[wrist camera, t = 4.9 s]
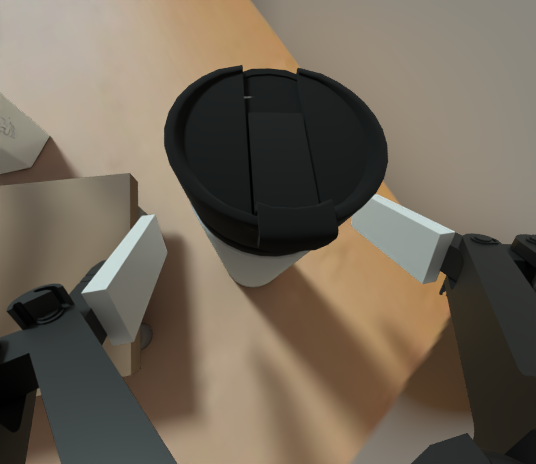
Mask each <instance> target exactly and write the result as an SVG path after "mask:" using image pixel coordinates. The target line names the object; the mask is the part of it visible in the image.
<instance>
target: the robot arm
mask: <svg viewBox="0 0 536 464" xmlns="http://www.w3.org/2000/svg"><path fill="white" fill-rule="evenodd" d="M351 226H352V227H353V228H354V229H355V230H357V231H358V232H359V233H360V234H361V235H363V236H364V237H365V238H366V239H368V240H369V241H370V242H371V243H373V244H374V245H375V246H376V247H377V248H379V249H380V250H381V251H382V252H384V253H385V254H386V255H387V256H389V257H390V258H391V259H392V260H393V261H395V262H396V263H397V264H398V265H400V266H401V267H402V268H403V269H405V270H406V271H407V272H408V273H409V274H411V275H412V276H413V277H414V278H416V279H417V280H418V281H419V282H421V283H422V284H425V283H430V282H435V281H436V280H437V277H438V275H439V272H440V271H441V272H443V273H444V274H446V278H445V280H444V283H443V285H442V287H441V290H440V293H439V294H440V295H442V294H443V292H445V291H446V296H447V298H448V303H449V308H450V313H451V317H452V322H453V327H454V332H455V336H456V341H457V346H458V351H459V355H460V360H461V365H462V369H463V374H464V379H465V384H466V388H467V393H468V398H469V403H470V408H471V412H472V417H473V422H474V438H473V440H472V438H471V437H470V436H469V435H468V433H466V434H463V435H460V436H457V437H454V438H451V439H448V440H445V441H442V442H438V443H435V444H433V445H430V446H429V447H428V448H427V449H426V450H425V451H424V452H423V453H422V454H421V455H420V456H419V457H418V458H417V459H416V460H414V462H412V463H411V464H536V235H526V234H525V235H524V234H523V235H517V236H516V238H515V239H514V241H513V243H512V244H509V245H508V244H501V243H500V242H499V241H498V240H496V239H494V238H491V237H488V236H485V235H480V234H465V235H463V236H462V235H460V234H458V233H456V232H455V231H453V230H450V229H448V228H446V227H444V226H442V225H440V224H438V223H436V222H434V221H432V220H430V219H428V218H425V217H423V216H421V215H419V214H417V213H415V212H413V211H411V210H409V209H407V208H405V207H403V206H400V205H398V204H396V203H394V202H392V201H390V200H388V199H386V198H384V197H382V196H380V195H378V194H375V195H374V196H373V197H372V198H371V199H370V200H369V201H368V202H367V203H366V204H365V205H364V206H363V207H362V208H361V209H360V210H359V211H357V212H356V213H355V214H353V215H352V220H351ZM167 253H168V252H167V249H166V246H165V243H164V240H163V237H162V234H161V231H160V228H159V224H158V221H157V218H156V215H155V214H154V215H146V216H141V218H140V219H139V220H138V221H137V223H136V224H135V225H134V226H133V228H132V229H131V230H130V232H129V233H128V234H127V235H126V237H125V238H124V239H123V240H122V242H121V243H120V244H119V246H118V247H117V248H116V249H115V251H114V252H113V253H112V254H111V256H110V257H109V258H108V260H103V261H101V262H99V263H98V264H96V265H95V266H93V267H92V268H91V269H90V270H89V271H88V273H87V274H86V275H85V277H83V278H82V280H81V281H80V283H78V284H77V285H76V287H75V288H74V289H73V290H72V291H71V293H70V294H68V293H67V291H66V289H65V288H64V286H63V285H61V284H48V285H43V286H40V287H38V288H35V289H32V290H30V291H28V292H26V293H24V294H22V295H21V296H19V297H18V298H16V299H15V300H14V301H13V302H12V303H11V304H10V305H9V306H8V308H7V311H6V312H7V313H8V314H9V315H10V316H11V317H12V318H13V320H14V321H15V322H16V323H17V324H18V325H19V327H20V328H21V329H22V330H19V331H17V332H14V333H11V334H8V335H5V336H3V337H0V464H25V461H26V455H27V449H28V443H29V437H30V431H31V424H32V418H33V412H34V406H35V400H36V393H37V389H38V388H40V392H41V395H42V399H43V402H44V406H45V409H46V413H47V416H48V420H49V423H50V426H51V430H52V433H53V437H54V440H55V444H56V447H57V451H58V454H59V458H60V461H61V464H177V462H176V461H175V459H174V458H173V456H172V454H171V453H170V451H169V450H168V448H167V447H166V445H165V444H164V442H163V440H162V439H161V437H160V436H159V434H158V433H157V431H156V429H155V428H154V426H153V425H152V423H151V422H150V420H149V419H148V417H147V415H146V414H145V412H144V411H143V409H142V408H141V406H140V405H139V403H138V401H137V400H136V398H135V397H134V395H133V394H132V392H131V390H130V389H129V387H128V386H127V384H126V383H125V381H124V380H123V378H122V376H121V375H120V373H119V372H118V370H117V369H116V367H115V365H114V364H113V362H112V361H111V359H110V358H109V356H108V355H107V353H106V351H105V350H104V348H103V347H102V345H103V343H104V341H105V339H106V337H108V339H109V340H110V342H111V344H112V345H113V346H115V345H120V344H125V343H130V342H134V340H135V337H136V335H137V332H138V329H139V327H140V324H141V322H142V319H143V316H144V314H145V311H146V308H147V306H148V303H149V300H150V298H151V295H152V293H153V290H154V287H155V285H156V282H157V279H158V277H159V274H160V271H161V269H162V266H163V264H164V261H165V258H166V256H167Z"/></svg>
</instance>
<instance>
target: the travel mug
mask: <svg viewBox="0 0 536 464" xmlns="http://www.w3.org/2000/svg"><path fill="white" fill-rule="evenodd" d="M164 146H165V150H166V153H167V157H168V160H169V164H170V165H171V167H172V169H173V171H174V173H175V175H176V176H177V178H178V180H179V182H180V184H181V186H182V188H183V189H184V191H185V193H186V195H187V197H188V198H189V200H190V202H191V205H192V209H193V211H194V213H195V215H196V216H197V218H198V220H199V222H200V224H201V225H202V227H203V229H204V231H205V232H206V234H207V236H208V238H209V240H210V241H211V243H212V245H213V247H214V248H215V250H216V252H217V254H218V256H219V257H220V259H221V261H222V263H223V264H224V266H225V268H226V270H227V271H228V273H229V275H230V276H231V277H232V279H233V280H234V281H236V282H237V283H239V284H241V285H243V286H246V287H260V286H263V285H266V284H267V283H269V282H270V281H272V280H273V279H274V278H276V277H277V276H278V275H280V274H281V273H282V272H283V271H285V270H286V269H287V268H289V267H290V266H291V265H293V264H294V263H295V262H296V261H298V260H299V259H300V258H302V257H303V256H304V255H305V254H307V253H308V252H309V251H311V250H317V249H319V248H321V247H324V246H326V245H328V244H329V243H331V242H332V241H334V240H335V239H336V238H337V236H338V227H339V226H340V225H341V224H342V223H343V222H345V221H346V220H347V219H348V218H350V217H351V216H352V215H353V214H355V213H356V212H357V211H359V210H360V209H361V208H362V207H363V206H364V205H365V204H366V203H367V202H368V201H369V200H370V199H371V198H372V197H373V196H374V195H375V194H376V192H377V190H378V188H379V187H380V185H381V183H382V181H383V179H384V176H385V172H386V168H387V163H388V153H387V142H386V139H385V136H384V132H383V129H382V128H381V125H380V124H379V122H378V120H377V118H376V116H375V115H374V114H373V112H372V111H371V110H370V109H369V107H368V106H367V105H366V104H365V103H364V102H363V101H362V100H361V99H360V98H359V97H358V96H357V95H356V94H354V93H353V92H352V91H351V90H349V89H348V88H346V87H344V86H343V85H342V84H340V83H338V82H337V81H335V80H333V79H331V78H329V77H327V76H324V75H323V74H320V73H316V72H313V71H309V70H305V69H301V68H298V69H297V73H296V74H294V73H292V72H289V71H287V70H278V69H250V70H247V71H244V72H243V67H242V65H240V66H235V67H229V68H223V69H218V70H216V71H214V72H211V73H209V74H207V75H205V76H203V77H201V78H200V79H198V80H197V81H195V82H194V83H192V84H191V85H189V86H188V87H187V88H186V89H185V90H184V91H183V92H182V93H181V94H180V95H179V96H178V97H177V99H176V101H175V102H174V104H173V106H172V107H171V109H170V111H169V113H168V117H167V120H166V124H165V127H164Z"/></svg>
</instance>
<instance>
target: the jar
mask: <svg viewBox="0 0 536 464" xmlns="http://www.w3.org/2000/svg"><path fill="white" fill-rule="evenodd" d="M49 137H50V136H49V134H48V133H47V132H46V131H44V130H43V129H42V128H41V127H40V126H39V125H38V124H36V123H35V122H34V121H33V120H32V119H31V118H30V117H28V116H27V115H26V114H25V113H24V112H23V111H21V110H20V109H19V108H18V107H17V106H16V105H14V104H13V103H12V102H11V101H10V100H9V99H7V98H6V97H5V96H4V95H3V94H2V93H0V174H3V173H8V172H13V171H17V170H22V169H26V168H31V167H32V166H33V164H34V162H35V161H36V159H37V157H38V156H39V154H40V152H41V150H42V149H43V147H44V145H45V144H46V142H47V140H48V139H49Z"/></svg>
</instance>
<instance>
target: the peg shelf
mask: <svg viewBox="0 0 536 464" xmlns="http://www.w3.org/2000/svg"><path fill="white" fill-rule="evenodd" d="M146 215H147V214H146V213H145V212H144V211H143V210H142V209H141V208H140V207H139V206H138V182H137V181H136V180H135V178H134V177H133V176H132V175H131V174H130V173H126V174H116V175H106V176H95V177H85V178H74V179H64V180H53V181H43V182H33V183H22V184H12V185H1V186H0V337H3V336H5V335H8V334H11V333H14V332H17V331H19V330H22V329H21V328H20V327H19V325H18V324H17V323H16V322H15V321H14V320H13V318H12V317H11V316H10V315H9V314H8V313H7V312H6V311H7V308H8V306H9V305H10V304H11V303H12V302H13V301H14V300H15V299H16V298H18V297H19V296H21V295H22V294H24V293H26V292H28V291H30V290H32V289H35V288H38V287H40V286H43V285H48V284H61V285H63V286H64V288H65V289H66V291H67V293H68V294H70V293H71V291H72V290H73V289H74V288H75V287H76V285H77V284H78V283H80V281H81V280H82V278H83V277H85V275H86V274H87V273H88V271H89V270H90V269H91V268H92V267H93V266H95V265H96V264H98V263H99V262H101V261H103V260H108V258H109V257H110V256H111V254H112V253H113V252H114V251H115V249H116V248H117V247H118V246H119V244H120V243H121V242H122V240H123V239H124V238H125V237H126V235H127V234H128V233H129V232H130V230H131V229H132V228H133V226H134V225H135V224H136V223H137V221H138V220H139V219H140V218H141V216H146ZM151 340H152V330H151V328H150V327H149V326H148V325H147V324H144V323H141V324H140V327H139V329H138V332H137V335H136V337H135V340H134V342H130V343H125V344H120V345H115V346H113V345H112V344H111V342H110V340H109V339H108V337H106V339H105V341H104V343H103V345H102V347H103V348H104V350H105V351H106V353H107V355H108V356H109V358H110V359H111V361H112V362H113V364H114V365H115V367H116V369H117V370H118V372H119V373H120V375H121V376H122V377H124V376H129V375H132V374H133V373H135V372H136V371H138V370H139V369H141V355H140V350H142V349H144V348H146V347H147V346H148V345H149V343H150V342H151ZM40 395H41V392H40V388H38V389H37V393H36V396H40Z"/></svg>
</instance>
